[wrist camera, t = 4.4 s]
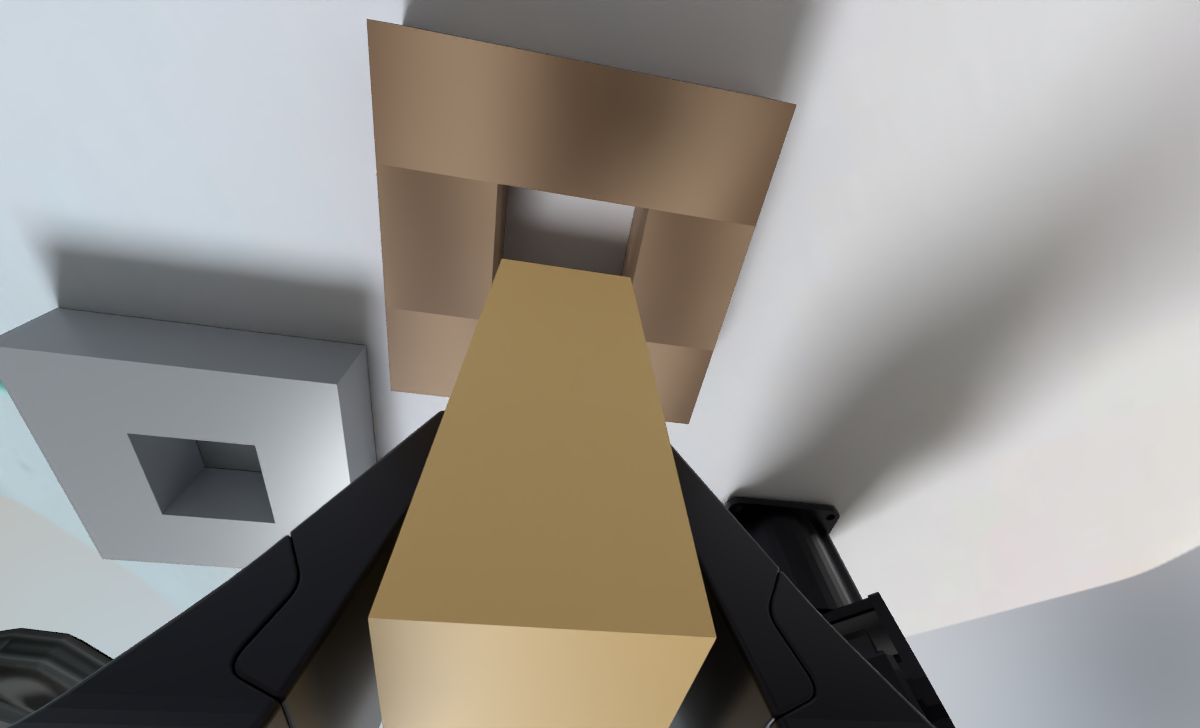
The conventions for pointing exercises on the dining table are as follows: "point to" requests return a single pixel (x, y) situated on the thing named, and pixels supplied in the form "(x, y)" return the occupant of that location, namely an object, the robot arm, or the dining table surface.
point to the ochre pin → (545, 529)
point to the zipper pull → (41, 669)
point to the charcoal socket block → (188, 429)
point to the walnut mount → (558, 190)
